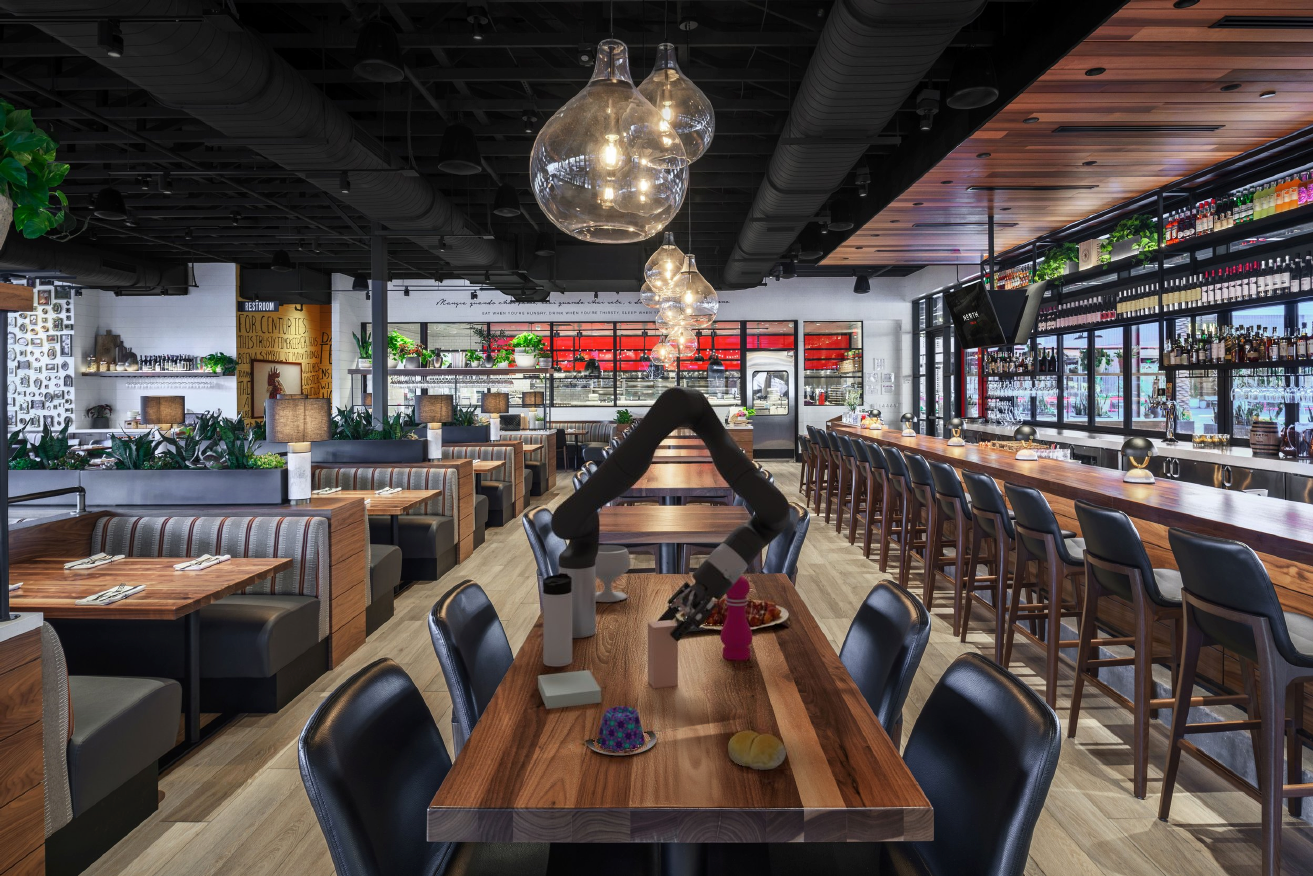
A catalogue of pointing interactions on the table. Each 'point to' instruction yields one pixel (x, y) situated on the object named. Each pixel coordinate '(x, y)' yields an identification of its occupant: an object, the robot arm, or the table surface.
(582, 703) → the ticket board
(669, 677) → the stub
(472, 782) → the table surface
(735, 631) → the pepper mill
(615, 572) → the chalice
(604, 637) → the table surface
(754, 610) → the plate of glazed chicken
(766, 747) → the bread roll
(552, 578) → the travel mug
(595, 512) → the robot arm
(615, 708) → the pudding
